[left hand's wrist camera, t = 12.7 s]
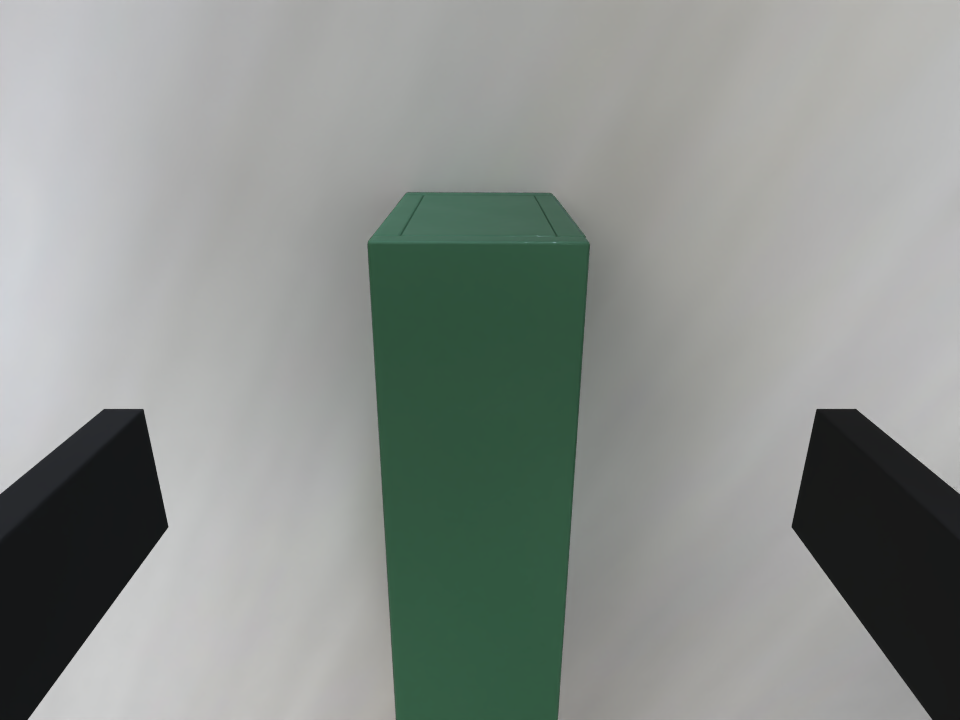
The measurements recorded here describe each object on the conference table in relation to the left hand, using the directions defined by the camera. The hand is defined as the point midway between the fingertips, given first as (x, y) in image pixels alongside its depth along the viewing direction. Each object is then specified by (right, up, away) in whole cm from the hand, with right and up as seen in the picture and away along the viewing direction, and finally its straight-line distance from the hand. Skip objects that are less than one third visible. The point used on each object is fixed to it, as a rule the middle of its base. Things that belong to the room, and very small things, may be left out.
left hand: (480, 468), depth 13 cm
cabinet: (0, 0, +17) cm, 16 cm away
